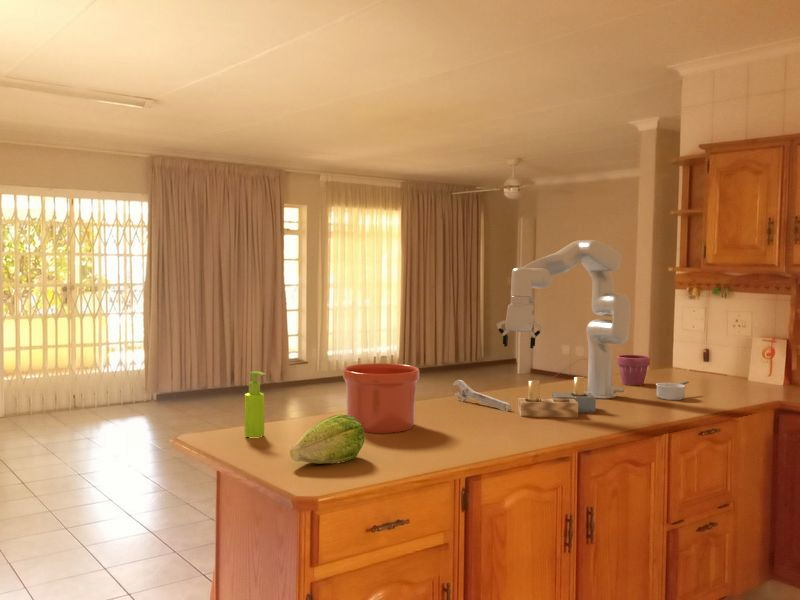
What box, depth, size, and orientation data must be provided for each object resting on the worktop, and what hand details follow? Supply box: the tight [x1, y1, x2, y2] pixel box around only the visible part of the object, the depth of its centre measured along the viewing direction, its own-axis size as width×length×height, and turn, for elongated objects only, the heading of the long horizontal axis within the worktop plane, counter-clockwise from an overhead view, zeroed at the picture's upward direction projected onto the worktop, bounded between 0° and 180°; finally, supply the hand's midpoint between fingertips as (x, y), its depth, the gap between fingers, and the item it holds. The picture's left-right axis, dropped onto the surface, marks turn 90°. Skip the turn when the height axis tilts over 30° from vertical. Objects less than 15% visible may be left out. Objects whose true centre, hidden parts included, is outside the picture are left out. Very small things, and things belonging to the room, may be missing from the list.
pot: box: [342, 362, 420, 434], centre depth 233 cm, size 25×25×19 cm
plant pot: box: [616, 354, 651, 386], centre depth 322 cm, size 14×14×13 cm
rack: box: [517, 397, 579, 418], centre depth 255 cm, size 20×8×5 cm, turn 87°
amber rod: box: [527, 379, 541, 402], centre depth 255 cm, size 4×4×12 cm
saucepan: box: [655, 381, 690, 401], centre depth 291 cm, size 12×20×6 cm, turn 132°
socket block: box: [551, 391, 597, 414], centre depth 264 cm, size 14×10×6 cm
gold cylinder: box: [573, 376, 586, 396], centre depth 264 cm, size 4×4×12 cm
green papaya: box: [289, 414, 365, 465], centre depth 190 cm, size 13×22×14 cm
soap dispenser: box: [244, 371, 267, 437], centre depth 217 cm, size 6×7×20 cm
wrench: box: [452, 379, 512, 412], centre depth 271 cm, size 8×2×30 cm
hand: (518, 347), depth 263 cm, fingers open, 9 cm apart
